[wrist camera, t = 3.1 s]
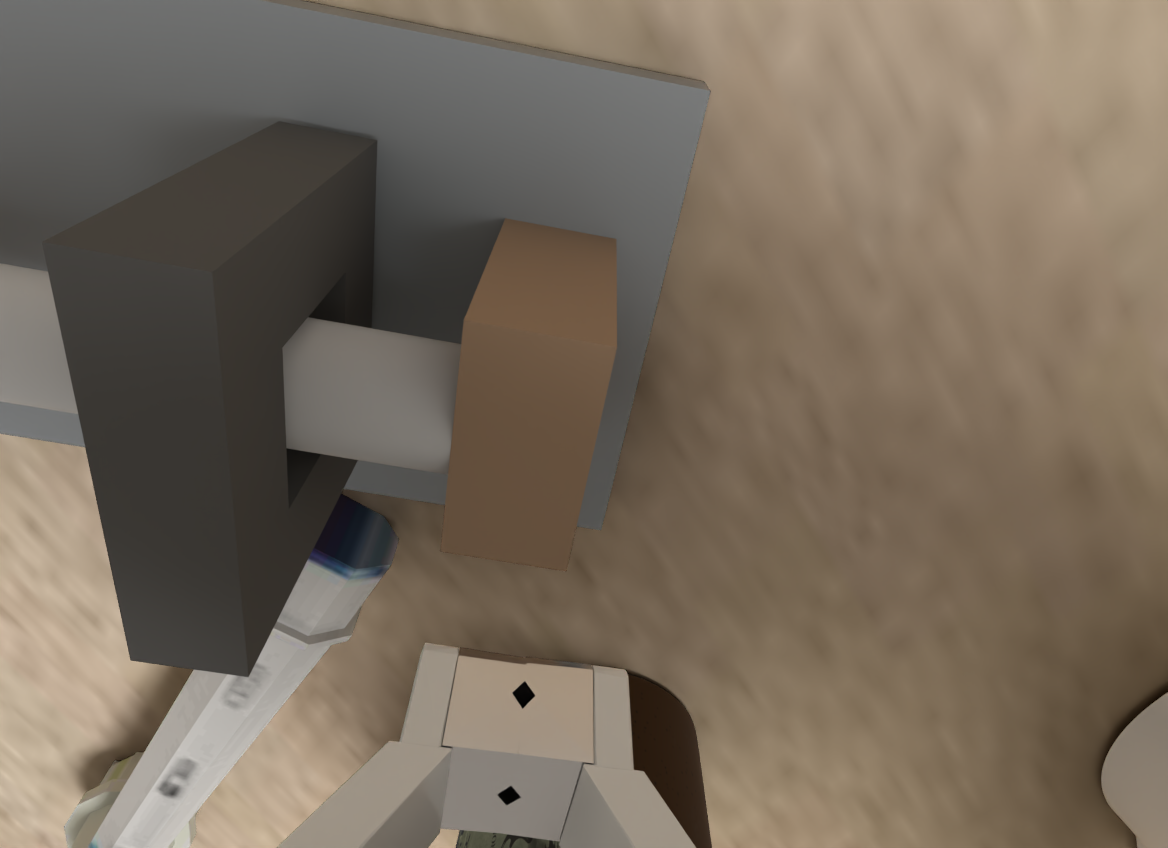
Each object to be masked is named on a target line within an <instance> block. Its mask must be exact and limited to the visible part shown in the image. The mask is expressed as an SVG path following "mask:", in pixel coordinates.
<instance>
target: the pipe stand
mask: <svg viewBox="0 0 1168 848" xmlns="http://www.w3.org/2000/svg"><path fill="white" fill-rule="evenodd" d="M709 95H710V89H709V88H708V86H707V85H706V83H705V82H703V81H698V80H693V79H688V78H683V77H678V76H673V75H668V74H664V73H659V72H654V71H649V70H644V69H639V68H634V67H629V66H624V65H619V64H614V63H609V62H604V61H599V60H594V59H589V58H584V57H579V56H575V55H570V54H565V53H560V52H555V51H550V50H545V49H540V48H535V47H530V46H525V45H520V44H515V43H510V42H505V41H500V40H495V39H491V38H486V37H481V36H476V35H471V34H466V33H461V32H456V31H451V30H446V29H441V28H436V27H431V26H426V25H421V24H416V23H411V22H406V21H402V20H397V19H392V18H387V17H382V16H377V15H372V14H367V13H362V12H357V11H352V10H347V9H342V8H337V7H332V6H327V5H322V4H317V3H313V2H308V1H303V0H0V434H6V435H12V436H19V437H25V438H31V439H37V440H43V441H50V442H56V443H62V444H68V445H74V446H81V447H85V443H84V439H83V434H82V429H81V425H80V420H79V415H78V410H77V406H76V401H75V396H74V392H73V387H72V382H71V378H70V373H69V368H68V363H67V359H66V354H65V349H64V345H63V340H62V335H61V330H60V326H59V321H58V316H57V312H56V307H55V302H54V297H53V293H52V288H51V283H50V279H49V274H48V269H47V265H46V260H45V255H44V250H43V246H42V242H43V241H45V240H46V239H48V238H50V237H52V236H54V235H56V234H58V233H60V232H62V231H64V230H66V229H68V228H70V227H72V226H74V225H76V224H78V223H80V222H82V221H84V220H86V219H88V218H90V217H92V216H94V215H96V214H98V213H100V212H101V211H103V210H105V209H107V208H109V207H111V206H113V205H115V204H117V203H119V202H121V201H123V200H125V199H127V198H129V197H131V196H133V195H135V194H137V193H139V192H141V191H143V190H145V189H147V188H149V187H151V186H153V185H155V184H156V183H158V182H160V181H162V180H164V179H166V178H168V177H170V176H172V175H174V174H176V173H178V172H180V171H182V170H184V169H186V168H188V167H190V166H192V165H194V164H196V163H198V162H200V161H202V160H204V159H206V158H208V157H210V156H211V155H213V154H215V153H217V152H219V151H221V150H223V149H225V148H227V147H229V146H231V145H233V144H235V143H237V142H239V141H241V140H243V139H245V138H247V137H249V136H251V135H253V134H255V133H257V132H259V131H261V130H263V129H265V128H266V127H268V126H270V125H272V124H274V123H276V122H278V121H280V122H286V123H291V124H296V125H301V126H307V127H312V128H317V129H322V130H327V131H333V132H338V133H343V134H348V135H354V136H359V137H364V138H369V139H374V140H377V169H376V202H375V235H374V267H373V300H372V328H366V327H361V326H355V325H349V324H344V323H338V322H332V321H326V320H321V319H315V318H309V317H308V318H307V319H306V320H305V321H304V323H303V324H302V325H301V326H300V327H299V328H298V330H297V331H296V332H295V333H294V334H293V336H292V337H291V338H290V339H289V340H288V342H287V343H286V344H285V345H284V346H283V348H282V349H283V375H284V400H285V425H286V448H288V449H294V450H300V451H306V452H312V453H318V454H324V455H330V456H336V457H342V458H349V459H355V460H358V461H357V463H356V465H355V467H354V469H353V471H352V473H351V475H350V477H349V479H348V481H347V483H346V485H345V487H344V489H347V490H354V491H360V492H366V493H372V494H378V495H385V496H391V497H397V498H403V499H409V500H416V501H422V502H428V503H434V504H440V505H445V509H444V519H443V529H442V539H441V549H440V552H446V553H453V554H459V555H466V556H472V557H478V558H485V559H491V560H497V561H504V562H510V563H516V564H523V565H529V566H536V567H542V568H548V569H555V570H561V571H567V567H568V562H569V558H570V554H571V549H572V545H573V540H574V536H575V531H576V527H583V528H589V529H595V530H601V529H602V525H603V521H604V517H605V513H606V509H607V505H608V501H609V497H610V493H611V489H612V485H613V481H614V477H615V473H616V469H617V465H618V461H619V457H620V453H621V449H622V445H623V441H624V437H625V433H626V429H627V425H628V421H629V417H630V413H631V409H632V405H633V401H634V397H635V393H636V389H637V385H638V381H639V376H640V372H641V368H642V364H643V360H644V356H645V352H646V348H647V344H648V340H649V336H650V332H651V328H652V324H653V320H654V316H655V312H656V308H657V304H658V300H659V296H660V292H661V288H662V284H663V280H664V276H665V272H666V268H667V264H668V260H669V256H670V252H671V248H672V244H673V240H674V236H675V232H676V228H677V224H678V220H679V216H680V212H681V208H682V204H683V200H684V196H685V192H686V188H687V184H688V180H689V176H690V172H691V168H692V164H693V160H694V156H695V152H696V148H697V144H698V140H699V136H700V132H701V128H702V124H703V120H704V116H705V112H706V107H707V103H708V99H709Z"/></svg>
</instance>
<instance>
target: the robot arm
mask: <svg viewBox="0 0 1168 848" xmlns="http://www.w3.org/2000/svg"><path fill="white" fill-rule="evenodd" d="M1101 784H1102V790H1103V794H1104V796H1105V799H1106V801H1107V803H1108V804H1109V806H1110V807H1111V808H1112V810H1113V811H1114V812H1115V813H1116V814H1117V815H1118V816H1119V817H1120V819H1121V820H1122V821H1123V822H1124V823H1125V824H1126V825H1127V826H1128V827H1129V828H1130V830H1131V831H1132V832H1133V833H1134V834H1135V835H1136V841H1137V848H1168V693H1166V694H1165V695H1163V696H1162V697H1160V698H1159V699H1158V700H1156V701H1155V702H1154V703H1152V704H1151V705H1150V706H1148V707H1147V708H1146V709H1145V710H1144V711H1142V712H1141V713H1140V714H1139V715H1138V716H1137V717H1136V718H1135V719H1134V720H1133V721H1132V722H1131V723H1130V724H1129V725H1128V726H1127V727H1126V728H1125V729H1124V730H1123V731H1122V733H1121V734H1120V735H1119V736H1118V738H1117V739H1116V741H1115V742H1114V744H1113V745H1112V747H1111V749H1110V750H1109V752H1108V754H1107V757H1106V759H1105V762H1104V765H1103V769H1102V776H1101ZM440 828H441V829H454V830H466V831H478V832H491V833H502V834H509V835H516V836H523V837H530V838H538V839H545V840H552V841H559V842H560V843H559V846H560V848H696V847H695V845H694V844H693V842H692V841H691V840H690V838H689V837H688V835H687V834H686V832H685V831H684V829H683V828H682V826H681V825H680V823H679V822H678V821H677V819H676V818H675V816H674V815H673V813H672V812H671V810H670V809H669V807H668V806H667V805H666V803H665V802H664V800H663V799H662V797H661V796H660V794H659V793H658V791H657V790H656V788H655V787H654V786H653V784H652V783H651V781H650V780H649V778H648V777H647V775H646V774H645V772H644V771H638V770H634V765H633V748H632V731H631V714H630V697H629V680H628V674H627V672H626V670H625V669H618V668H610V667H602V666H595V665H593V666H591V664H583V663H575V662H566V661H558V660H549V659H541V658H533V657H526V658H524V657H517V656H511V655H505V654H499V653H492V652H486V651H480V650H473V649H467V648H461V647H460V651H459V647H452V646H445V645H439V644H432V643H425V644H424V647H423V649H422V651H421V655H420V659H419V663H418V667H417V671H416V676H415V680H414V684H413V688H412V692H411V696H410V700H409V704H408V709H407V713H406V717H405V721H404V725H403V729H402V733H401V737H400V742H397V741H388V742H387V743H386V744H385V745H384V746H383V747H382V748H381V749H380V750H379V751H378V752H377V753H376V754H375V755H373V756H372V757H371V758H370V759H369V760H368V761H367V762H366V763H365V764H364V765H363V766H362V767H361V768H360V769H359V770H358V771H357V772H356V773H355V774H353V775H352V776H351V777H350V778H349V779H348V780H347V781H346V782H345V783H344V784H343V785H342V786H341V787H340V788H339V789H338V790H337V791H336V792H335V793H333V794H332V795H331V796H330V797H329V798H328V799H327V800H326V801H325V802H324V803H323V804H322V805H321V806H320V807H319V808H318V809H317V810H316V811H315V812H313V813H312V814H311V815H310V816H309V817H308V818H307V819H306V820H305V821H304V822H303V823H302V824H301V825H300V826H299V827H298V828H297V829H296V830H295V831H293V832H292V833H291V834H290V835H289V836H288V837H287V838H286V839H285V840H284V841H283V842H282V843H281V844H280V845H279V846H278V847H277V848H428V847H429V846H430V844H431V843H432V842H433V841H434V839H435V838H436V837H437V835H438V834H439V833H440Z"/></svg>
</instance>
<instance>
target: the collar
mask: <svg viewBox="0 0 1168 848" xmlns="http://www.w3.org/2000/svg"><path fill="white" fill-rule="evenodd" d="M376 169H377V140H374V139H369V138H364V137H359V136H354V135H348V134H343V133H338V132H333V131H327V130H322V129H317V128H312V127H307V126H301V125H296V124H291V123H286V122H280V121H278V122H276V123H274V124H272V125H270V126H268V127H266V128H265V129H263V130H261V131H259V132H257V133H255V134H253V135H251V136H249V137H247V138H245V139H243V140H241V141H239V142H237V143H235V144H233V145H231V146H229V147H227V148H225V149H223V150H221V151H219V152H217V153H215V154H213V155H211V156H210V157H208V158H206V159H204V160H202V161H200V162H198V163H196V164H194V165H192V166H190V167H188V168H186V169H184V170H182V171H180V172H178V173H176V174H174V175H172V176H170V177H168V178H166V179H164V180H162V181H160V182H158V183H156V184H155V185H153V186H151V187H149V188H147V189H145V190H143V191H141V192H139V193H137V194H135V195H133V196H131V197H129V198H127V199H125V200H123V201H121V202H119V203H117V204H115V205H113V206H111V207H109V208H107V209H105V210H103V211H101V212H100V213H98V214H96V215H94V216H92V217H90V218H88V219H86V220H84V221H82V222H80V223H78V224H76V225H74V226H72V227H70V228H68V229H66V230H64V231H62V232H60V233H58V234H56V235H54V236H52V237H50V238H48V239H46V240H45V241H43V242H42V246H43V250H44V255H45V260H46V265H47V269H48V274H49V279H50V283H51V288H52V293H53V297H54V302H55V307H56V312H57V316H58V321H59V326H60V330H61V335H62V340H63V345H64V349H65V354H66V359H67V363H68V368H69V373H70V378H71V382H72V387H73V392H74V396H75V401H76V406H77V410H78V415H79V420H80V425H81V429H82V434H83V439H84V443H85V448H86V453H87V458H88V462H89V467H90V472H91V476H92V481H93V486H94V490H95V495H96V500H97V505H98V509H99V514H100V519H101V523H102V528H103V533H104V538H105V542H106V547H107V552H108V556H109V561H110V566H111V570H112V575H113V580H114V585H115V589H116V594H117V599H118V603H119V608H120V613H121V618H122V622H123V627H124V632H125V636H126V641H127V646H128V650H129V655H130V660H131V661H138V662H145V663H152V664H159V665H166V666H173V667H180V668H187V669H194V670H201V671H208V672H215V673H222V674H229V675H236V676H243V677H249V675H250V673H251V671H252V670H253V668H254V666H255V664H256V662H257V660H258V658H259V656H260V654H261V652H262V650H263V648H264V646H265V644H266V642H267V640H268V638H269V636H270V634H271V632H272V630H273V628H274V626H275V624H276V622H277V620H278V618H279V616H280V614H281V612H282V610H283V608H284V606H285V604H286V602H287V600H288V598H289V596H290V594H291V592H292V590H293V588H294V586H295V584H296V582H297V580H298V578H299V576H300V574H301V572H302V570H303V568H304V566H305V564H306V562H307V560H308V558H309V556H310V554H311V552H312V550H313V548H314V546H315V544H316V542H317V540H318V538H319V537H320V535H321V533H322V531H323V529H324V527H325V525H326V523H327V521H328V519H329V517H330V515H331V513H332V511H333V509H334V507H335V505H336V503H337V501H338V499H339V497H340V495H341V493H342V491H343V489H344V487H345V485H346V483H347V481H348V479H349V477H350V475H351V473H352V471H353V469H354V467H355V465H356V463H357V461H358V460H355V459H349V458H342V457H336V456H330V455H324V454H318V453H312V452H306V451H300V450H294V449H288V448H286V425H285V400H284V375H283V349H282V348H283V346H284V345H285V344H286V343H287V342H288V340H289V339H290V338H291V337H292V336H293V334H294V333H295V332H296V331H297V330H298V328H299V327H300V326H301V325H302V324H303V323H304V321H305V320H306V319H307V318H308V317H309V318H315V319H321V320H326V321H332V322H338V323H344V324H349V325H355V326H361V327H366V328H372V300H373V267H374V235H375V202H376Z"/></svg>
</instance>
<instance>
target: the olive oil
mask: <svg viewBox="0 0 1168 848" xmlns="http://www.w3.org/2000/svg"><path fill="white" fill-rule="evenodd" d="M628 680H629V697H630V714H631V731H632V748H633V765H634V770H638V771H644V772H645V774H646V775H647V777H648V778H649V780H650V781H651V783H652V784H653V786H654V787H655V788H656V790H657V791H658V793H659V794H660V796H661V797H662V799H663V800H664V802H665V803H666V805H667V806H668V807H669V809H670V810H671V812H672V813H673V815H674V816H675V818H676V819H677V821H678V822H679V823H680V825H681V826H682V828H683V829H684V831H685V832H686V834H687V835H688V837H689V838H690V840H691V841H692V842H693V844H694V845H695V847H696V848H712V844H711V837H710V830H709V823H708V815H707V808H706V800H705V793H704V786H703V778H702V771H701V763H700V756H699V749H698V742H697V736H696V731H695V727H694V724H693V721H692V719H691V717H690V715H689V714H688V712H687V711H686V709H685V708H684V707H683V705H682V704H681V703H680V702H679V701H678V700H677V699H676V698H674V697H673V696H672V695H671V694H669V693H668V692H667V691H665V690H663V689H662V688H660V687H659V686H657V685H655V684H653V683H651V682H649V681H646V680H644V679H641V678H639V677H636V676H633V675H629V674H628ZM559 843H560V842H559V841H552V840H545V839H538V838H530V837H523V836H516V835H509V834H502V833H491V832H478V831H466V830H460V832H459V836H458V840H457V844H456V848H560V846H559Z"/></svg>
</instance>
